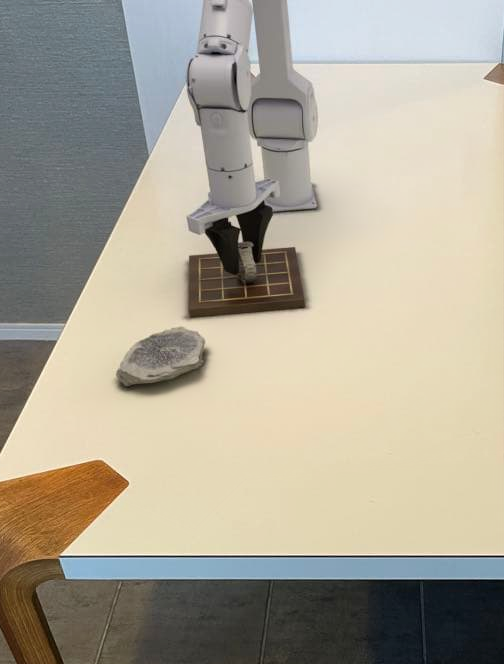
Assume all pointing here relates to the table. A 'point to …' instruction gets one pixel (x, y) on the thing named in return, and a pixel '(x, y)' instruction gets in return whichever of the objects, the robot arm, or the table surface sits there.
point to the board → (245, 285)
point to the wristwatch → (246, 262)
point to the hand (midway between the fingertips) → (242, 266)
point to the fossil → (162, 357)
